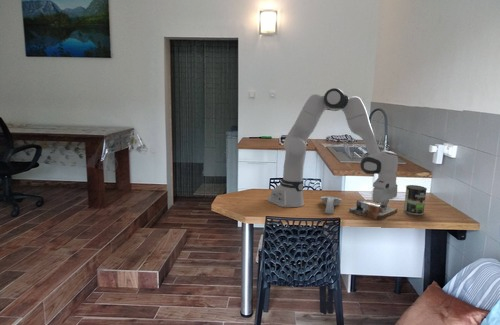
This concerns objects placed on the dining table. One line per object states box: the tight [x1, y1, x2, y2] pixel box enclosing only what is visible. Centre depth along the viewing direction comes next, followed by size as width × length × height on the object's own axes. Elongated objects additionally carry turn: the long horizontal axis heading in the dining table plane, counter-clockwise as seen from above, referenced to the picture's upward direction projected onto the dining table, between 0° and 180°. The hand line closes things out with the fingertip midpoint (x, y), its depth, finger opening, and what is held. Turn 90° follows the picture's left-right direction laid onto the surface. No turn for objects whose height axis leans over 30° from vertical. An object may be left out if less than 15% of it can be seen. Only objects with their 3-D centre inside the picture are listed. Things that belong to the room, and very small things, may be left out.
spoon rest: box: [320, 196, 343, 215], centre depth 209 cm, size 24×12×7 cm, turn 167°
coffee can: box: [403, 184, 427, 216], centre depth 205 cm, size 10×10×14 cm
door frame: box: [348, 201, 398, 221], centre depth 204 cm, size 17×21×6 cm
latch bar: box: [355, 199, 386, 214], centre depth 198 cm, size 16×4×4 cm, turn 44°
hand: (384, 207), depth 196 cm, fingers closed
